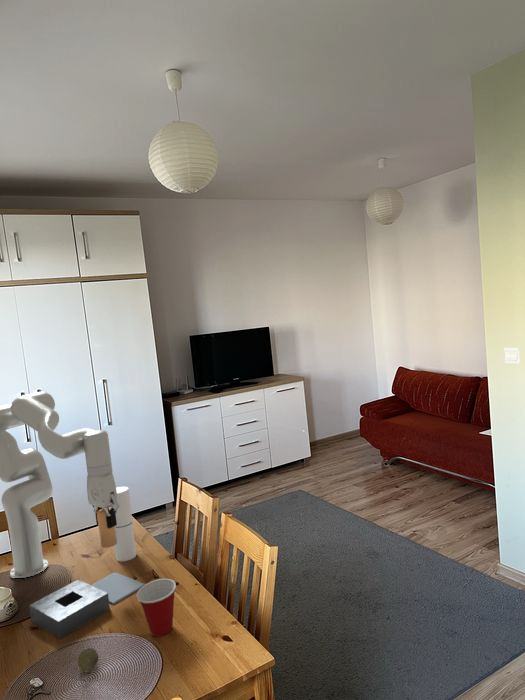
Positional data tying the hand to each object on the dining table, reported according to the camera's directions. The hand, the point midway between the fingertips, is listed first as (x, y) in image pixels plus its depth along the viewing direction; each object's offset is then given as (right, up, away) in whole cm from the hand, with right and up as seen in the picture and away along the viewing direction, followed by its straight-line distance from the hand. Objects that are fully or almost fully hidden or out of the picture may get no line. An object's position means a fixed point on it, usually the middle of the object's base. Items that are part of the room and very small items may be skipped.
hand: (106, 524), depth 164 cm
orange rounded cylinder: (+1, -6, +1) cm, 6 cm away
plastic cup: (+22, -21, -23) cm, 38 cm away
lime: (+7, -24, -36) cm, 44 cm away
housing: (-7, -23, -11) cm, 27 cm away
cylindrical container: (0, -20, +24) cm, 31 cm away
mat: (+2, -21, +2) cm, 21 cm away
